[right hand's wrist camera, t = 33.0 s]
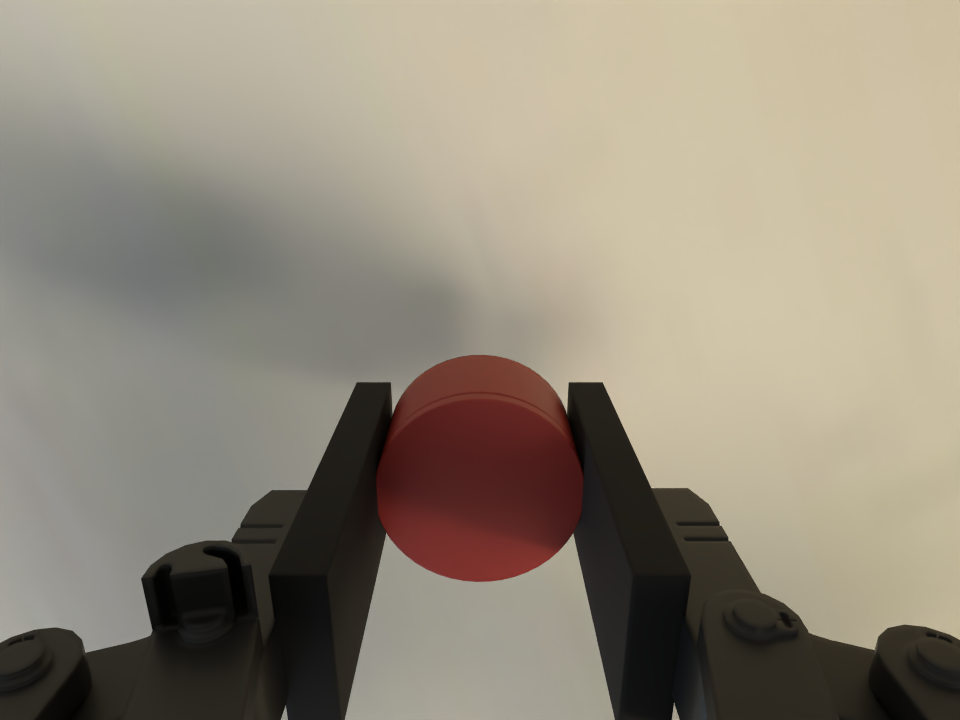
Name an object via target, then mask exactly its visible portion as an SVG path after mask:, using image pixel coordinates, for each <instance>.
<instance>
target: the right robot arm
mask: <svg viewBox="0 0 960 720" xmlns="http://www.w3.org/2000/svg"><path fill="white" fill-rule="evenodd" d="M392 416H393V415H392V396H391V382H357V384H356V386H355V388H354V390H353V392H352V394H351V397H350V399H349V401H348V403H347V405H346V407H345V410H344V412H343V414H342V416H341V418H340V420H339V423H338V425H337V427H336V429H335V431H334V434H333V436H332V438H331V440H330V442H329V444H328V447H327V449H326V451H325V453H324V455H323V457H322V460H321V462H320V464H319V466H318V468H317V470H316V473H315V475H314V477H313V479H312V481H311V484H310V486H309V488H308V490H272V491H270V492H269V493H268V494H266V495H265V496H264V497H263V498H261V499H260V500H259V501H257V502H256V503H255V504H253V505H252V506H251V508H250V509H249V511H248V513H247V514H246V516H245V518H244V519H243V521H242V523H241V527H240V528H238V530H237V531H236V533H235V535H234V537H233V538H232V542H228V541H203V542H198V543H194V544H189V545H185V546H183V547H181V548H179V549H176V550H174V551H172V552H169V553H167V554H165V555H164V556H163V557H161V558H160V559H159V560H157V561H156V562H155V563H153V564H152V565H151V566H150V567H149V568H148V570H147V571H146V573H145V574H144V575H143V577H142V578H141V580H142V585H143V589H144V594H145V598H146V603H147V607H148V612H149V616H150V621H151V625H152V630H153V631H152V634H151V636H149V637H147V638H143V639H140V640H137V641H133V642H130V643H126V644H122V645H118V646H113V647H109V648H105V649H100V650H96V651H92V652H87V653H85V649H84V646H83V642H82V639H81V638H80V637H79V636H77V635H76V634H75V633H74V632H73V631H71V630H66V629H61V628H47V629H37V630H32V631H29V632H26V633H23V634H20V635H17V636H14V637H11V638H9V639H7V640H5V641H3V642H1V643H0V720H281V717H282V714H283V711H284V708H285V705H286V708H287V716H288V720H345V715H346V711H347V706H348V702H349V697H350V693H351V688H352V684H353V680H354V675H355V671H356V666H357V662H358V657H359V653H360V648H361V644H362V639H363V635H364V630H365V626H366V621H367V617H368V612H369V608H370V603H371V599H372V595H373V590H374V586H375V581H376V577H377V572H378V568H379V563H380V559H381V554H382V550H383V545H384V541H385V536H386V531H385V529H384V527H383V525H382V523H381V521H380V518H379V515H378V502H377V486H376V471H377V467H378V463H379V460H380V457H381V453H382V450H383V446H384V443H385V440H386V436H387V433H388V429H389V426H390V423H391V419H392ZM567 417H568V421H569V424H570V427H571V431H572V434H573V438H574V441H575V445H576V448H577V452H578V455H579V459H580V462H581V466H582V469H583V473H584V479H583V496H582V511H581V517H580V520H579V522H578V524H577V526H576V528H575V530H574V532H573V534H574V538H575V543H576V547H577V552H578V556H579V561H580V565H581V569H582V574H583V578H584V583H585V587H586V592H587V596H588V601H589V605H590V610H591V614H592V619H593V623H594V628H595V632H596V637H597V641H598V646H599V650H600V654H601V659H602V663H603V668H604V672H605V677H606V681H607V686H608V690H609V695H610V699H611V704H612V708H613V713H614V717H615V720H672V713H673V705H674V703H675V706H676V709H677V712H678V715H679V718H680V720H960V640H959V639H957V638H955V637H953V636H951V635H949V634H946V633H943V632H940V631H936V630H933V629H930V628H927V627H921V626H911V625H901V626H896V627H891V628H887V629H886V630H885V631H884V632H883V633H882V634H881V635H880V636H879V637H878V640H877V644H876V648H875V650H871V649H867V648H862V647H858V646H854V645H849V644H845V643H841V642H836V641H832V640H828V639H825V638H822V637H819V636H815V635H812V634H810V633H808V630H807V628H806V627H805V625H804V624H803V622H802V621H801V619H800V617H799V616H798V615H797V614H796V613H795V612H793V611H792V610H791V609H790V608H789V607H787V606H786V605H785V604H784V603H782V602H780V601H778V600H776V599H774V598H772V597H770V596H768V595H765V594H762V593H761V592H760V591H759V589H758V587H757V586H756V584H755V582H754V580H753V579H752V577H751V575H750V574H749V572H748V570H747V569H746V567H745V565H744V563H743V562H742V560H741V558H740V557H739V555H738V553H737V552H736V550H735V548H734V546H733V545H732V543H731V541H728V536H727V535H726V533H725V531H724V529H723V528H722V526H719V521H718V519H717V518H716V516H715V514H714V513H713V511H712V509H711V507H710V506H709V504H708V503H706V502H705V501H704V500H703V499H701V498H700V497H699V496H697V495H696V494H695V493H693V492H692V491H691V490H689V489H688V488H651V487H650V484H649V482H648V480H647V478H646V476H645V474H644V471H643V469H642V467H641V465H640V463H639V461H638V458H637V456H636V454H635V452H634V450H633V447H632V445H631V443H630V441H629V439H628V437H627V434H626V432H625V430H624V428H623V426H622V424H621V421H620V419H619V417H618V415H617V413H616V411H615V408H614V406H613V404H612V402H611V400H610V397H609V395H608V393H607V391H606V389H605V387H604V384H603V382H569V388H568V407H567Z"/></svg>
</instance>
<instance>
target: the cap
mask: <svg viewBox="0 0 960 720" xmlns="http://www.w3.org/2000/svg"><path fill="white" fill-rule="evenodd" d="M583 479H584V473H583V469H582V466H581V462H580V459H579V455H578V452H577V448H576V445H575V441H574V438H573V434H572V431H571V427H570V424H569V421H568V417H567V414H566V410H565V408H564V406H563V404H562V401H561V400H560V398H559V396H558V395H557V393H556V392H555V390H554V389H553V388H552V387H551V386H550V385H549V383H548V382H547V381H546V380H544V379H543V378H542V377H541V376H540V375H539V374H537V373H536V372H534V371H533V370H531V369H530V368H528V367H526V366H524V365H522V364H520V363H518V362H515V361H512V360H509V359H506V358H502V357H497V356H489V355H470V356H463V357H457V358H454V359H450V360H447V361H445V362H442V363H440V364H437V365H435V366H434V367H432V368H430V369H428V370H427V371H425V372H424V373H423V374H421V375H420V376H419V377H417V378H416V379H415V380H414V381H413V382H412V383H411V384H410V385H409V386H408V388H407V389H406V390H405V392H404V393H403V394H402V396H401V398H400V399H399V401H398V403H397V405H396V408H395V410H394V413H393V416H392V419H391V423H390V426H389V429H388V433H387V436H386V440H385V443H384V446H383V450H382V453H381V457H380V460H379V463H378V467H377V471H376V486H377V502H378V515H379V518H380V521H381V523H382V525H383V527H384V529H385V531H386V532H387V534H388V536H389V537H390V539H391V540H392V541H393V543H394V544H395V545H396V546H397V547H398V548H399V549H400V550H401V551H402V552H403V553H404V554H405V555H406V556H407V557H408V558H410V559H411V560H412V561H414V562H415V563H417V564H418V565H420V566H422V567H424V568H425V569H427V570H429V571H432V572H434V573H436V574H439V575H442V576H445V577H448V578H452V579H457V580H463V581H473V582H486V581H496V580H503V579H507V578H511V577H515V576H518V575H521V574H523V573H526V572H528V571H530V570H532V569H534V568H536V567H538V566H540V565H541V564H543V563H544V562H546V561H547V560H549V559H550V558H551V557H552V556H554V555H555V554H556V553H557V552H558V551H559V550H560V549H561V548H562V547H563V546H564V545H565V544H566V542H567V541H568V540H569V538H570V537H571V535H572V534H573V532H574V530H575V528H576V526H577V524H578V522H579V520H580V517H581V511H582V496H583Z"/></svg>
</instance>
